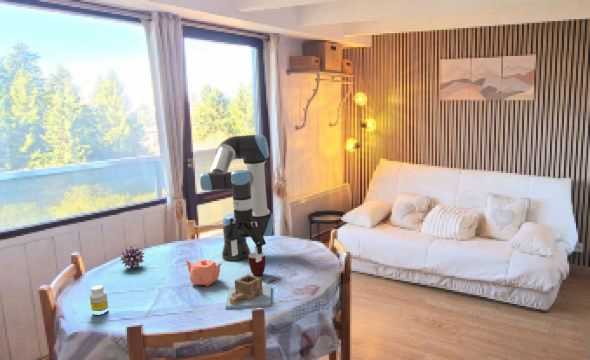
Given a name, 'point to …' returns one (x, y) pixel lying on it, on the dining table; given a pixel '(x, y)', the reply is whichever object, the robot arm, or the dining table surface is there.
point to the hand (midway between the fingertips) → (246, 258)
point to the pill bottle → (98, 298)
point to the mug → (256, 264)
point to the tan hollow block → (247, 289)
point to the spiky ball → (132, 256)
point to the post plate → (256, 302)
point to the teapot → (203, 272)
